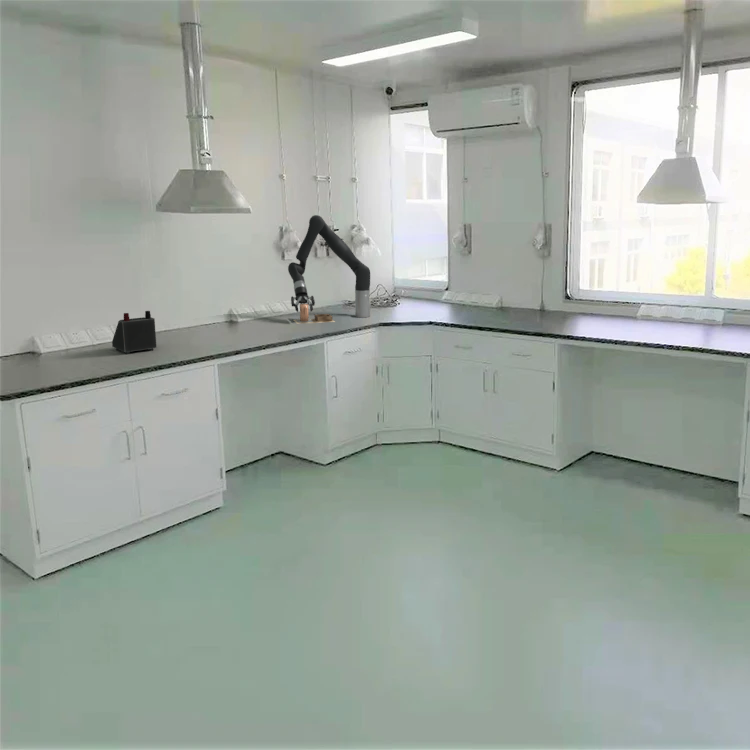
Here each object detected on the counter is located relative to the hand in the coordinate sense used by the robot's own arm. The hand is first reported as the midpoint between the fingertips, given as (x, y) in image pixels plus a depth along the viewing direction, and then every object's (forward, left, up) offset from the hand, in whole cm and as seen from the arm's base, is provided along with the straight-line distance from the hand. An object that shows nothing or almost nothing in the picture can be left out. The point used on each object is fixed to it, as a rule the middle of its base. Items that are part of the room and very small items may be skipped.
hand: (304, 310), depth 422 cm
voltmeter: (+98, +52, -8) cm, 111 cm away
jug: (0, 0, -6) cm, 6 cm away
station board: (-6, -1, -8) cm, 10 cm away
